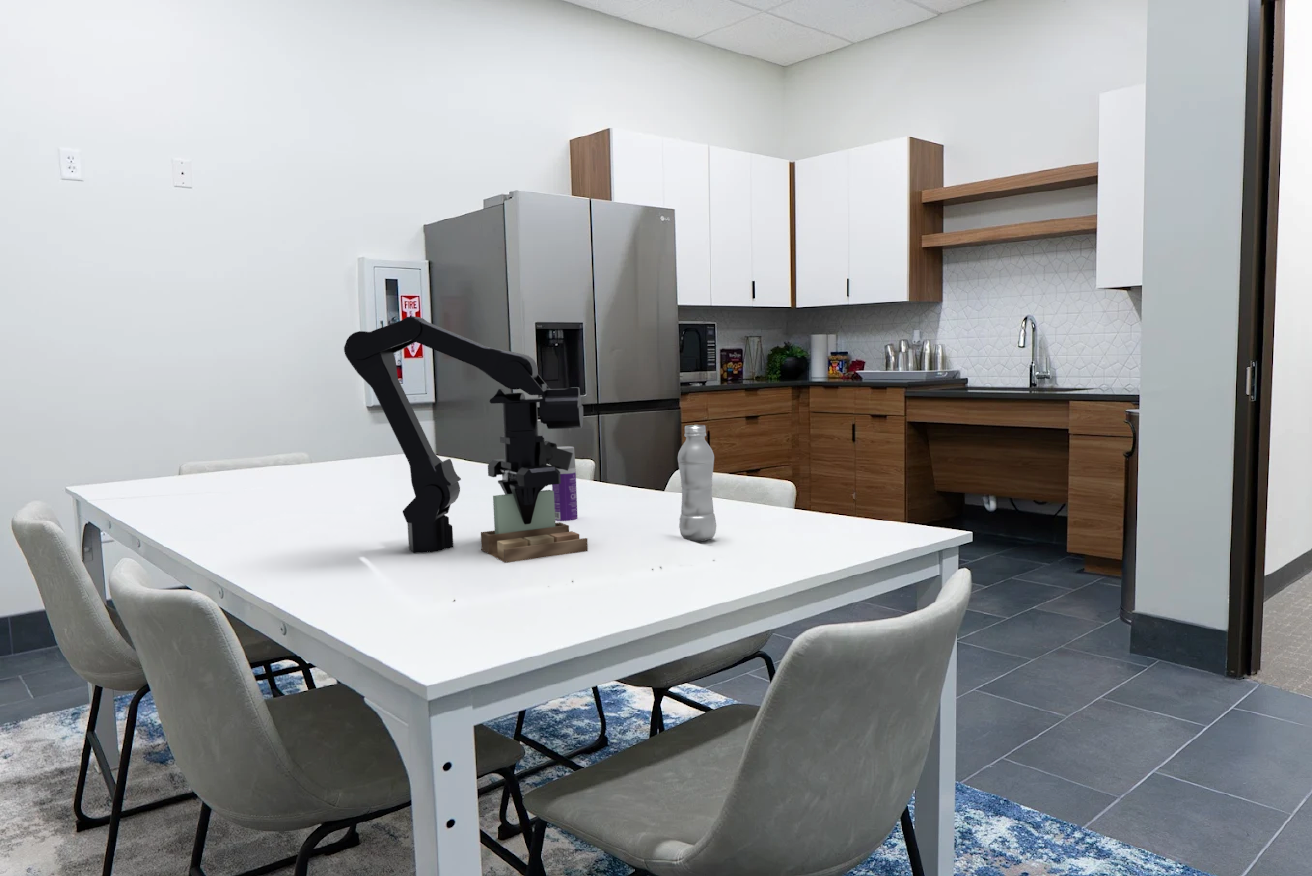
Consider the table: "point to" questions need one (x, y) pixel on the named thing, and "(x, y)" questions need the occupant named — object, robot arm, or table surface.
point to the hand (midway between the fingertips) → (524, 522)
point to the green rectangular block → (511, 519)
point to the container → (566, 491)
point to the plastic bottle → (696, 486)
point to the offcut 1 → (510, 545)
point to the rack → (532, 551)
